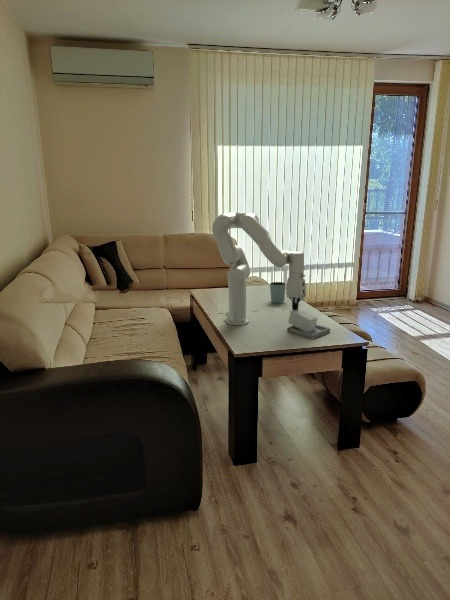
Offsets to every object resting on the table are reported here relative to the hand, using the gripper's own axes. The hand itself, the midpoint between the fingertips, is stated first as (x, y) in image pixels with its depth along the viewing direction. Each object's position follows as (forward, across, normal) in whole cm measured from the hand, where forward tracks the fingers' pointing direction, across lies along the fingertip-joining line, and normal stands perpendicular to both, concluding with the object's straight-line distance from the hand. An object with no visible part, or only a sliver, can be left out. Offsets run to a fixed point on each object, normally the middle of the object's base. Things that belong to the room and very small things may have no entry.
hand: (295, 309), depth 229 cm
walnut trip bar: (+10, -2, 0) cm, 10 cm away
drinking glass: (+10, +40, -34) cm, 54 cm away
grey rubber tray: (+10, -10, 0) cm, 14 cm away
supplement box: (+3, +1, 0) cm, 4 cm away
